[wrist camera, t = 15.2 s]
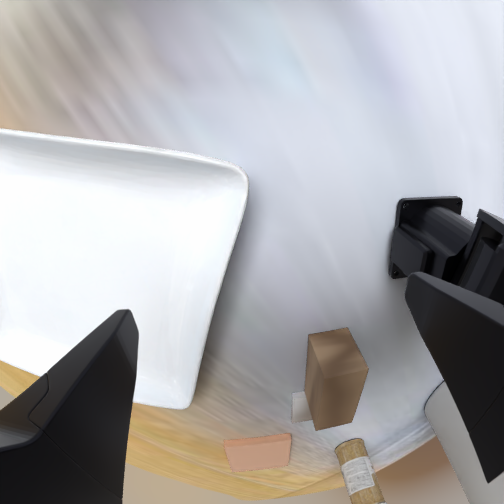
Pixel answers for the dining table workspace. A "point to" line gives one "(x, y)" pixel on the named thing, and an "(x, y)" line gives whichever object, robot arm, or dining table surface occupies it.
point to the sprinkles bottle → (359, 473)
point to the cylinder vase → (461, 449)
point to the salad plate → (114, 252)
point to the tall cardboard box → (330, 380)
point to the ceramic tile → (258, 452)
